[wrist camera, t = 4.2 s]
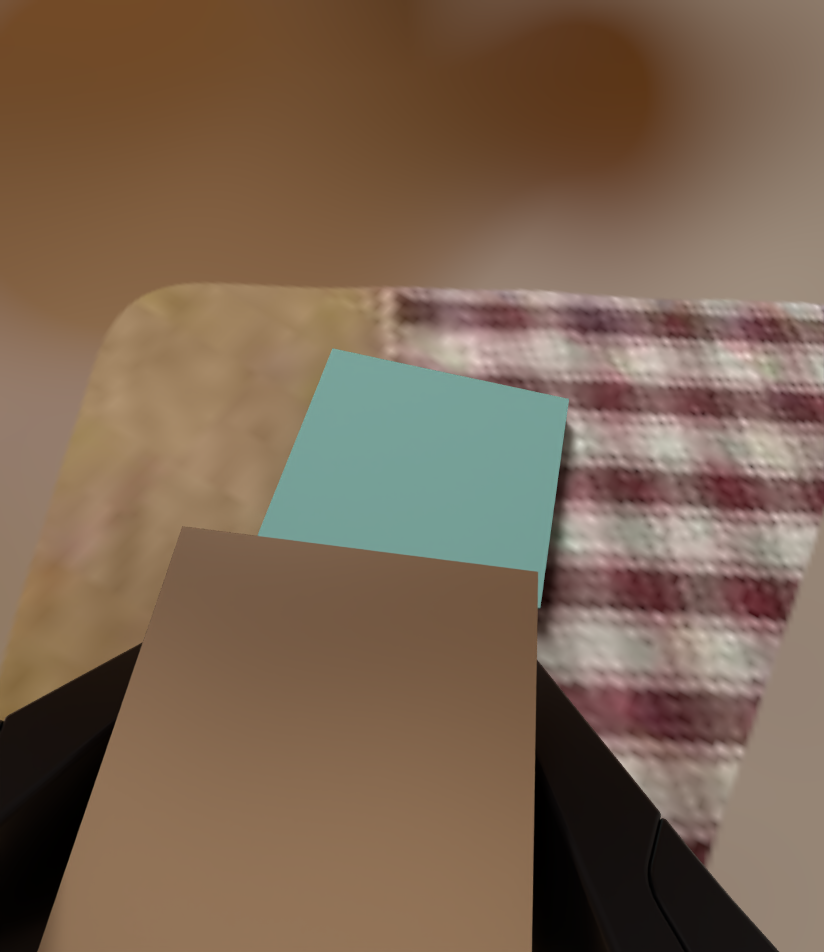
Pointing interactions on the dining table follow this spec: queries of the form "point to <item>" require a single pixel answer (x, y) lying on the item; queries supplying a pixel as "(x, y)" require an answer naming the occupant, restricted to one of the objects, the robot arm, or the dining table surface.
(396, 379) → the mat
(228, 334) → the dining table surface
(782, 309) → the dining table surface
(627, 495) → the dining table surface
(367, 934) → the walnut block
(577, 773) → the robot arm
